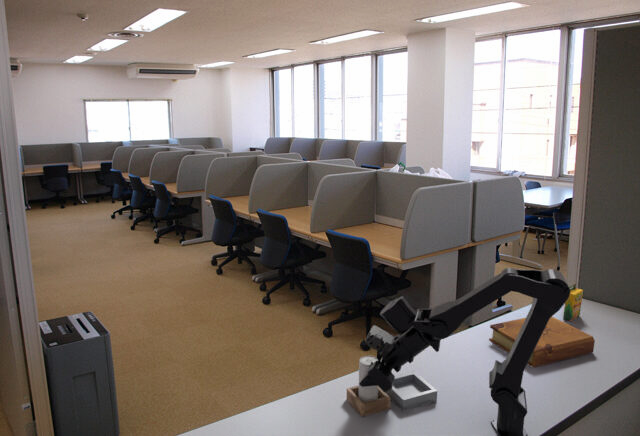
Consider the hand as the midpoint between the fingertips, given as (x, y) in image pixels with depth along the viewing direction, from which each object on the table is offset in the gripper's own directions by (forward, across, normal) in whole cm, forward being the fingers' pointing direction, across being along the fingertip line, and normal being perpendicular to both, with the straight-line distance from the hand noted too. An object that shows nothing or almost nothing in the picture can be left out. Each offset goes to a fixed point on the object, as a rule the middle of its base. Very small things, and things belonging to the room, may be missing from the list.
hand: (363, 379), depth 124 cm
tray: (-3, -7, +12) cm, 14 cm away
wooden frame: (+4, 0, +6) cm, 7 cm away
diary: (-27, -46, +37) cm, 64 cm away
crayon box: (-36, -72, +46) cm, 92 cm away
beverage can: (+4, 0, +6) cm, 7 cm away
